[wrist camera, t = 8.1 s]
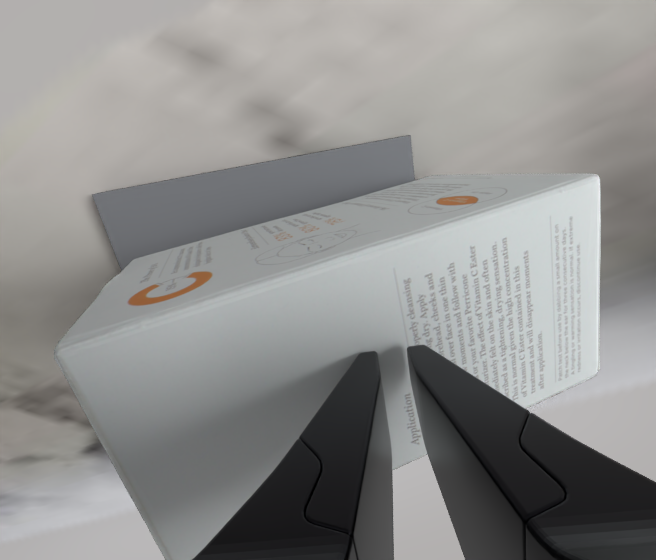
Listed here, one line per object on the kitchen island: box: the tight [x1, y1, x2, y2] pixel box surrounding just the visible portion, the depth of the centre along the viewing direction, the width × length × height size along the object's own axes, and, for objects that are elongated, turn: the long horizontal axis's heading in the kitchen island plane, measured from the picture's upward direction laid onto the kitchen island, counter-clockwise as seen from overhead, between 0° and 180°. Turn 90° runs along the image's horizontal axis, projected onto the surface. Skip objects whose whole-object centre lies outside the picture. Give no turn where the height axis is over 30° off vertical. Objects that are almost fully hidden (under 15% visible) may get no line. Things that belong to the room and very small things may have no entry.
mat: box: [92, 135, 415, 271], centre depth 19 cm, size 15×11×1 cm
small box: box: [54, 174, 601, 560], centre depth 13 cm, size 8×6×13 cm
